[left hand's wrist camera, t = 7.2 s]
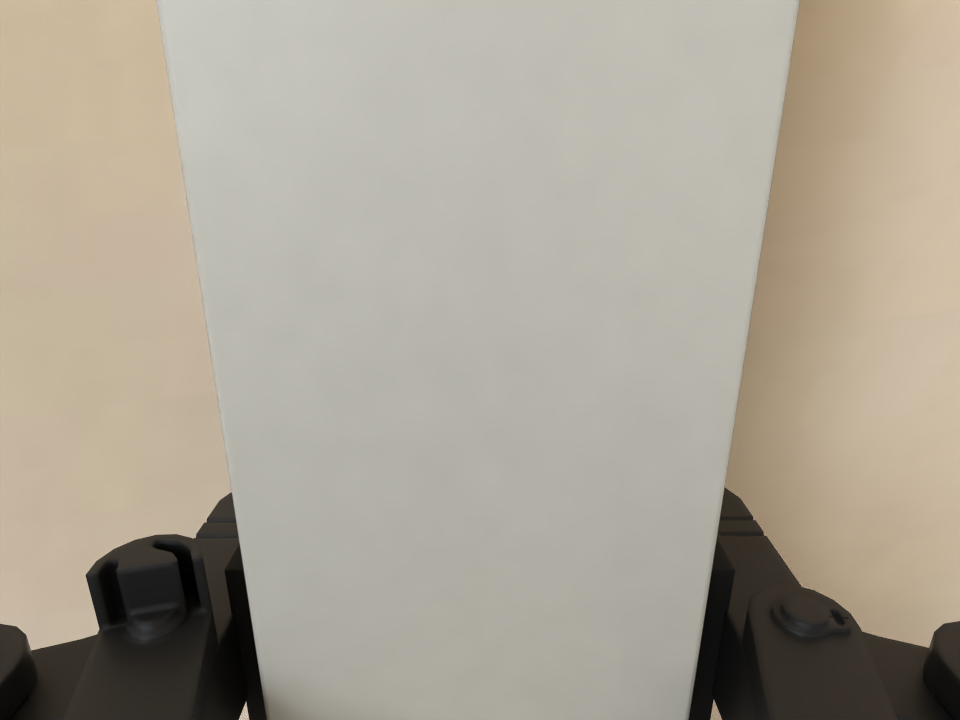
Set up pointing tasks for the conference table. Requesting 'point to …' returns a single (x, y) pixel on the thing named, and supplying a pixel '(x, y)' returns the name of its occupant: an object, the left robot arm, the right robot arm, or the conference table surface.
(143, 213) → the conference table surface
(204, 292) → the bar
